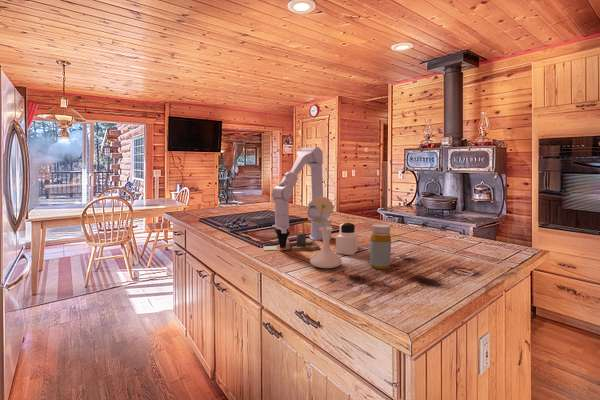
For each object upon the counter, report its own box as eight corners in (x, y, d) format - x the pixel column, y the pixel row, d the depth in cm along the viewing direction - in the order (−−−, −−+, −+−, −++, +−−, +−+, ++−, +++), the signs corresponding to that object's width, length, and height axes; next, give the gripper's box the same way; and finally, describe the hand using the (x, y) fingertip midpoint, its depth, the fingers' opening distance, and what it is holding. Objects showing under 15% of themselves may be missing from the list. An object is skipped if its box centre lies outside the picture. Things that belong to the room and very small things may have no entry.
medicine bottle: (357, 251, 141) (358, 222, 140) (352, 255, 135) (353, 225, 133) (341, 249, 144) (341, 221, 143) (335, 253, 138) (335, 224, 136)
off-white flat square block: (276, 246, 149) (276, 245, 149) (277, 250, 143) (277, 249, 143) (263, 247, 148) (263, 246, 148) (264, 250, 142) (264, 250, 142)
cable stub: (305, 245, 150) (305, 232, 149) (306, 248, 146) (306, 234, 145) (296, 246, 149) (296, 232, 148) (297, 248, 145) (297, 234, 144)
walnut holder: (314, 243, 154) (314, 241, 153) (319, 249, 144) (319, 246, 144) (288, 244, 152) (288, 242, 151) (291, 250, 142) (291, 248, 142)
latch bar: (287, 244, 152) (286, 233, 152) (290, 250, 142) (290, 238, 142) (277, 244, 152) (277, 233, 151) (279, 250, 142) (279, 238, 141)
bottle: (367, 264, 124) (368, 223, 122) (386, 263, 125) (387, 223, 123) (373, 270, 117) (374, 227, 115) (392, 269, 118) (394, 227, 116)
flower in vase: (348, 267, 120) (349, 197, 117) (322, 273, 114) (323, 199, 111) (326, 258, 131) (326, 193, 128) (301, 263, 125) (301, 195, 122)
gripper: (270, 212, 148) (271, 242, 149) (273, 218, 133) (274, 251, 135) (286, 211, 149) (287, 242, 151) (291, 217, 135) (291, 250, 136)
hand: (282, 246), depth 143 cm, fingers closed on latch bar, 3 cm apart
